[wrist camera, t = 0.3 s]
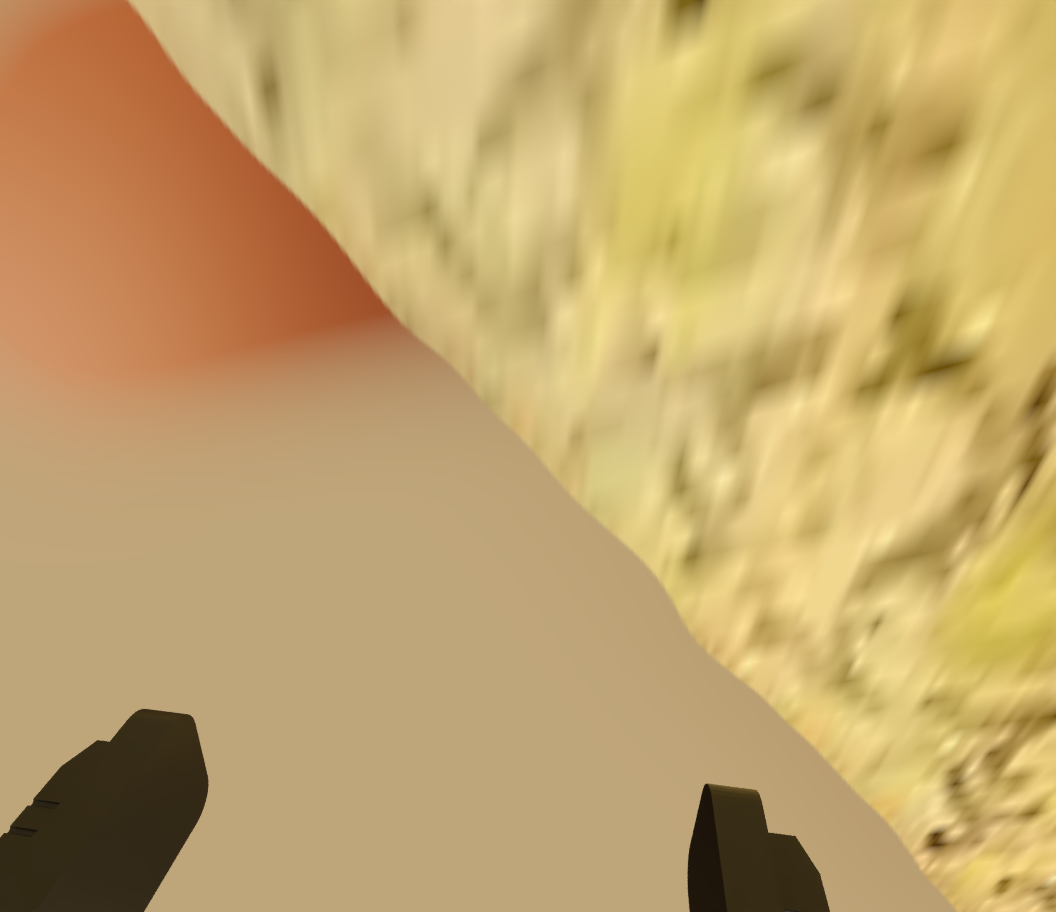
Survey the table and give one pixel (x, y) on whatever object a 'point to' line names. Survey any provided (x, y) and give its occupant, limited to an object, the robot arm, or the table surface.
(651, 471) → the table surface
